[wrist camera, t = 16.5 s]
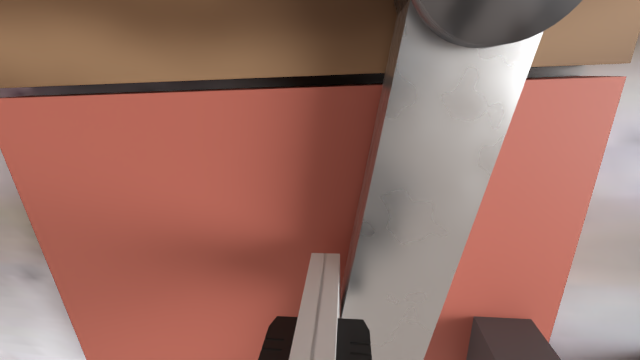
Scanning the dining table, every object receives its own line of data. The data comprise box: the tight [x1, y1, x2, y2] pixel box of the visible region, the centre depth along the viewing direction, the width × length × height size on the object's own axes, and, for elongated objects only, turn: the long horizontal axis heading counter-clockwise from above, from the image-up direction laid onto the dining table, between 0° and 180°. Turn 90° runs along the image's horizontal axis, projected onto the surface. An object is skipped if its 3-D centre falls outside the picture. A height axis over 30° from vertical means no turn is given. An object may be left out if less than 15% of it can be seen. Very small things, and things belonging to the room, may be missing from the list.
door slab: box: [0, 76, 626, 360], centre depth 17 cm, size 22×30×6 cm
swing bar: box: [340, 0, 582, 360], centre depth 13 cm, size 26×5×4 cm, turn 172°
